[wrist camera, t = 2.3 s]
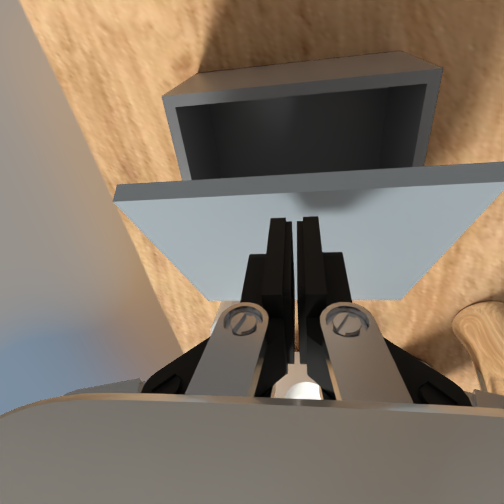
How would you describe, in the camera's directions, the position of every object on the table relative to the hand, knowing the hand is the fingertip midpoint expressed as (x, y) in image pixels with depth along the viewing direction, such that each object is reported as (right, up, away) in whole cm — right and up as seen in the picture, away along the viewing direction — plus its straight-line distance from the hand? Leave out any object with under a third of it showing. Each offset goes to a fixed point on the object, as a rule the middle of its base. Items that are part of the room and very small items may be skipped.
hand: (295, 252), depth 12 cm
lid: (+1, 0, +6) cm, 6 cm away
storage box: (+2, +8, +15) cm, 17 cm away
